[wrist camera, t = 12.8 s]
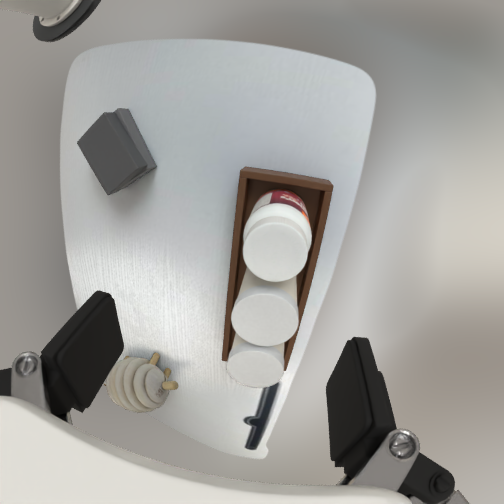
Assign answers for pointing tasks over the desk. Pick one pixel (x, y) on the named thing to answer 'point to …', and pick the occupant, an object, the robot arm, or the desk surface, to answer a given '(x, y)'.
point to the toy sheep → (139, 384)
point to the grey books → (116, 150)
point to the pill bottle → (277, 236)
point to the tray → (249, 191)
